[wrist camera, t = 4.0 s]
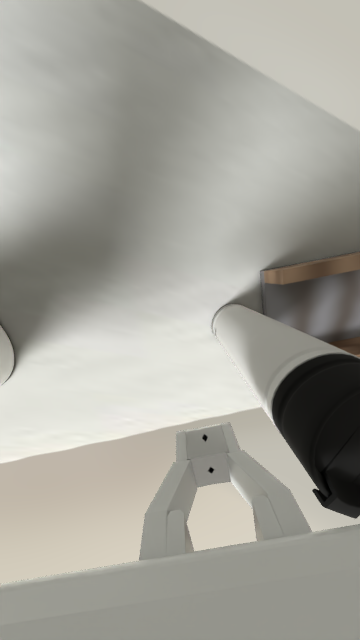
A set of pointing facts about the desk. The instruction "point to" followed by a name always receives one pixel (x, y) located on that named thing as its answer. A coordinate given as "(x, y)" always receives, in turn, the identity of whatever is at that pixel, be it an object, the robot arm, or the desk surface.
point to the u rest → (317, 299)
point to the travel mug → (302, 397)
